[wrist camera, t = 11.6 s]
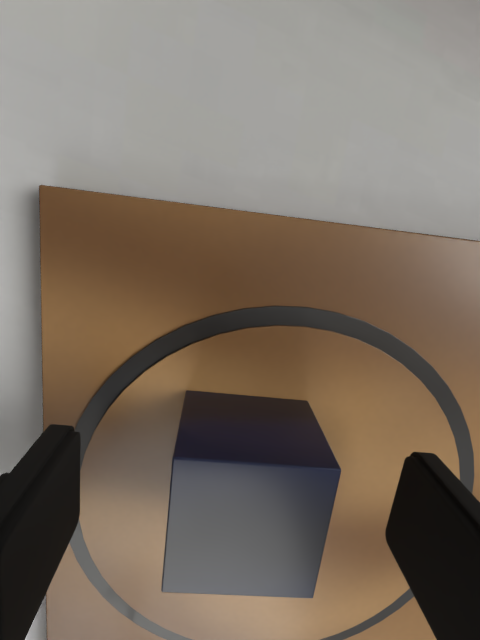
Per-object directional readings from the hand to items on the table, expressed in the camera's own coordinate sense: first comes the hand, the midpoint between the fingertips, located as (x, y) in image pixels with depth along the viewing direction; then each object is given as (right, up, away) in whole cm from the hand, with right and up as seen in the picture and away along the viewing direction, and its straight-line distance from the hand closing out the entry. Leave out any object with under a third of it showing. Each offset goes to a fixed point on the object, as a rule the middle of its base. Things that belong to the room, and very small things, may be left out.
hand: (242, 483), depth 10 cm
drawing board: (+1, -2, +4) cm, 4 cm away
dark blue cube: (0, 0, +2) cm, 2 cm away
